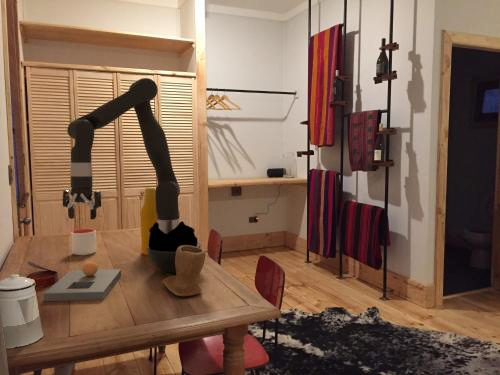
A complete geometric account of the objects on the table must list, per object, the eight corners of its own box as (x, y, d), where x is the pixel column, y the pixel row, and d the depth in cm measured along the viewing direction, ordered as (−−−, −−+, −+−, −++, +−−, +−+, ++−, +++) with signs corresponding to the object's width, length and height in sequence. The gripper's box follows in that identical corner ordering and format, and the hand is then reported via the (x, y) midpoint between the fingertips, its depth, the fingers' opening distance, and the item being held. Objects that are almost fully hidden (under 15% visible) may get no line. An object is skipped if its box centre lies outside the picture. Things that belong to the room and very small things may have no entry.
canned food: (30, 294, 150) (28, 267, 153) (61, 287, 154) (58, 261, 157) (23, 289, 140) (21, 260, 143) (56, 282, 144) (53, 254, 147)
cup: (100, 250, 193) (99, 229, 192) (90, 256, 183) (89, 233, 182) (79, 250, 194) (78, 228, 193) (68, 255, 184) (66, 233, 183)
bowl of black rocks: (211, 268, 164) (210, 220, 163) (177, 283, 147) (176, 229, 145) (171, 261, 175) (170, 216, 173) (136, 274, 157) (134, 224, 156)
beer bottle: (164, 254, 186) (162, 188, 183) (142, 256, 183) (140, 189, 180) (160, 249, 195) (159, 186, 192) (140, 251, 191) (138, 187, 188)
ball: (99, 273, 150) (99, 259, 150) (95, 277, 146) (94, 263, 145) (85, 273, 150) (84, 259, 150) (80, 278, 145) (79, 263, 145)
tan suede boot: (211, 295, 136) (210, 249, 134) (175, 301, 130) (174, 253, 129) (195, 281, 149) (194, 239, 147) (161, 286, 144) (160, 243, 142)
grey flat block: (121, 275, 156) (121, 269, 155) (103, 299, 132) (103, 291, 132) (71, 277, 154) (70, 270, 154) (44, 301, 131) (43, 293, 130)
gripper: (104, 175, 157) (105, 218, 158) (70, 174, 160) (70, 216, 161) (93, 175, 150) (94, 221, 151) (57, 175, 153) (58, 219, 154)
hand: (82, 218), depth 156 cm, fingers open, 8 cm apart
